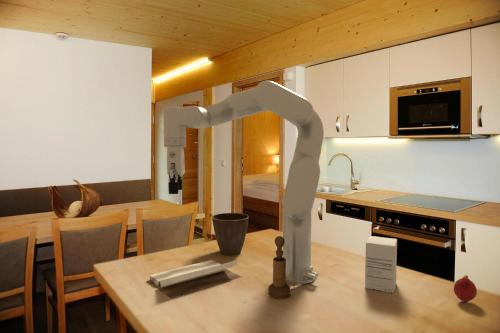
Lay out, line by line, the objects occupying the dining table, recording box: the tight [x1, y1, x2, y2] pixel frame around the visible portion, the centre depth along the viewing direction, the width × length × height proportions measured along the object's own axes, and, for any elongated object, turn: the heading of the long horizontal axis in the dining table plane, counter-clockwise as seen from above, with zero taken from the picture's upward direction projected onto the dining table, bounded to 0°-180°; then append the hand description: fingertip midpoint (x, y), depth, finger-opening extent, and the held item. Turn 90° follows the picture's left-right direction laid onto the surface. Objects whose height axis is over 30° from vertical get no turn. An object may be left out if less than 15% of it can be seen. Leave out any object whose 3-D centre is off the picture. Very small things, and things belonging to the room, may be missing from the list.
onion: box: [453, 274, 478, 303], centre depth 104 cm, size 6×6×8 cm
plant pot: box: [211, 212, 249, 256], centre depth 147 cm, size 15×15×16 cm
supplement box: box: [364, 235, 398, 294], centre depth 116 cm, size 9×9×15 cm
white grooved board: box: [147, 259, 242, 300], centre depth 119 cm, size 17×26×3 cm, turn 129°
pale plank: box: [160, 260, 239, 287], centre depth 116 cm, size 9×24×2 cm, turn 129°
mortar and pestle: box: [267, 235, 291, 300], centre depth 109 cm, size 7×6×18 cm
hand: (175, 191), depth 126 cm, fingers open, 9 cm apart
